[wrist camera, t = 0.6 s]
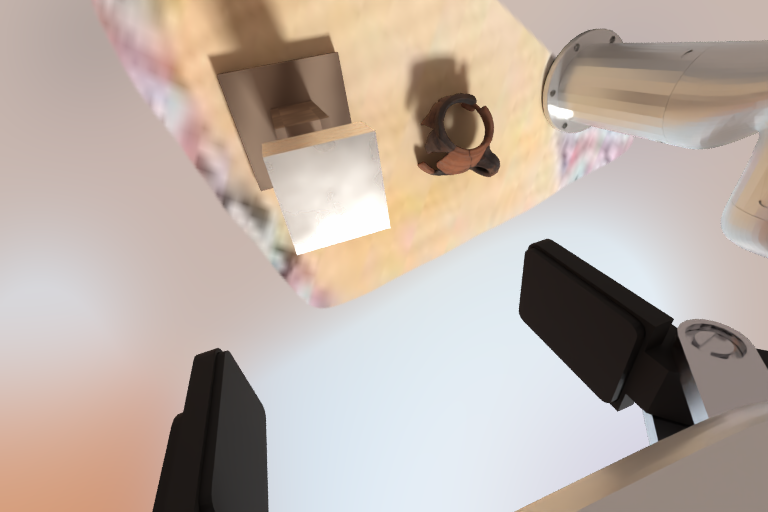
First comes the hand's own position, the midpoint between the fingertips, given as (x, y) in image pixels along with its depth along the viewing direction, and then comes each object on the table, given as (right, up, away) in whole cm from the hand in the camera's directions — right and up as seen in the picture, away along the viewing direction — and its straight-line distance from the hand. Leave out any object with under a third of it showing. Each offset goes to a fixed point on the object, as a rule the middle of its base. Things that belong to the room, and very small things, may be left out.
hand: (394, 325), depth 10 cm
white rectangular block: (-8, +13, +21) cm, 26 cm away
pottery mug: (+8, +18, +34) cm, 40 cm away
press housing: (-10, +17, +27) cm, 34 cm away
